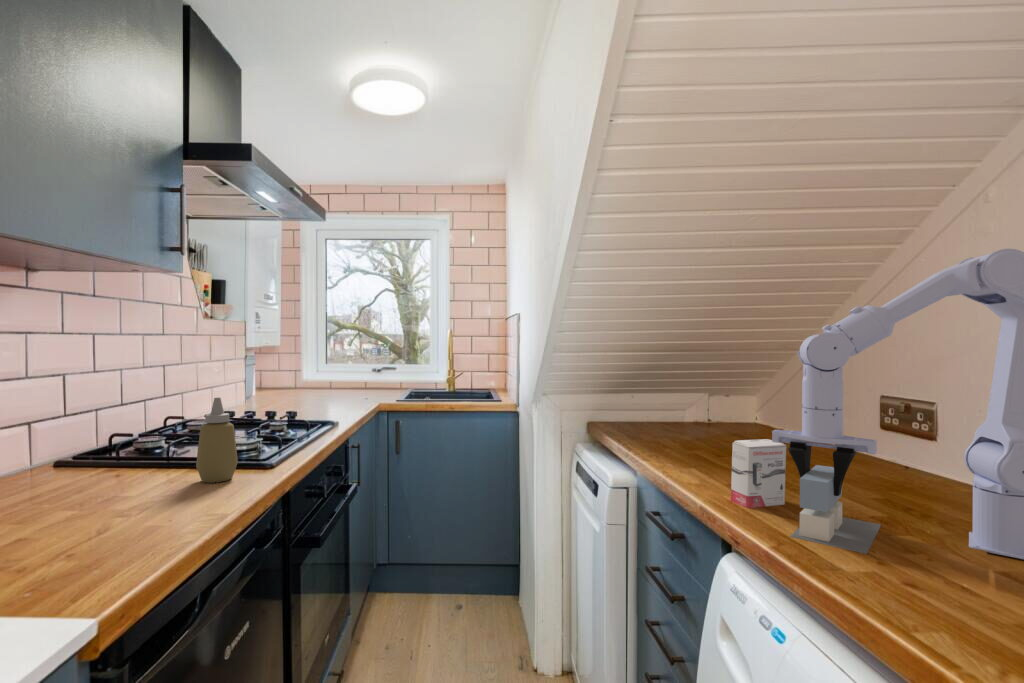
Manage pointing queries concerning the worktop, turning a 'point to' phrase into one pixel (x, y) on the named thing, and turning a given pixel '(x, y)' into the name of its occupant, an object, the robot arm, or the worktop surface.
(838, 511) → the post
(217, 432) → the squeeze bottle
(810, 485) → the lintel
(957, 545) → the worktop surface
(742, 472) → the ink box
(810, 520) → the post
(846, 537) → the mat
